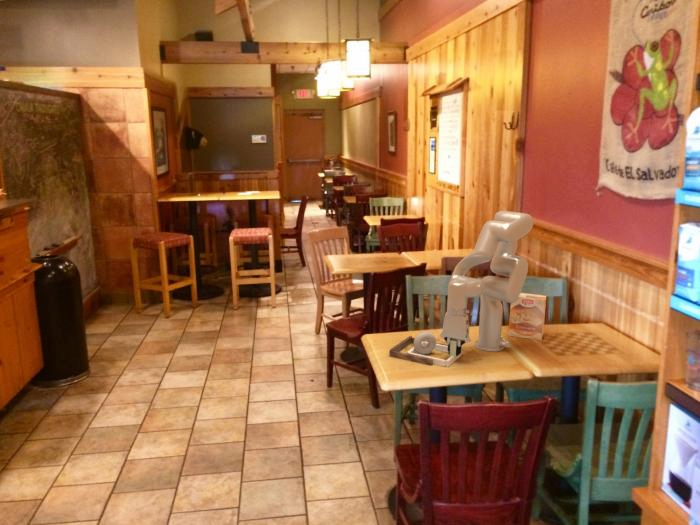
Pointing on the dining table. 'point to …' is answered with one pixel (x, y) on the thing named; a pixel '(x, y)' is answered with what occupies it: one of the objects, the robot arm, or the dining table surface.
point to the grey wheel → (420, 339)
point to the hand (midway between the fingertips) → (454, 353)
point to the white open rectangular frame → (441, 348)
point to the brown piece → (395, 353)
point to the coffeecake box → (527, 316)
